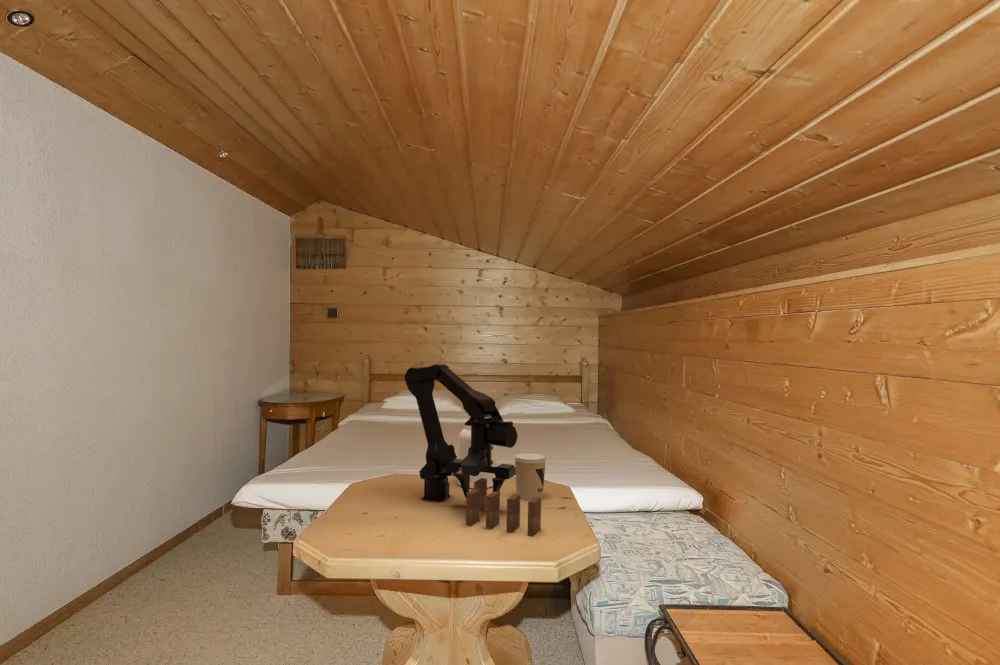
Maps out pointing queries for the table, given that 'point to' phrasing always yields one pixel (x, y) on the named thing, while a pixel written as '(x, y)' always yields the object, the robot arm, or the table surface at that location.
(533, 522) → the domino
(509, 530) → the domino
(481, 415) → the robot arm
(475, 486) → the domino
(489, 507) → the domino
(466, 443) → the white lidded jar
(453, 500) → the table surface
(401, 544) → the table surface
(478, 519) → the domino
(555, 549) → the table surface
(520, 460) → the coffee cup
